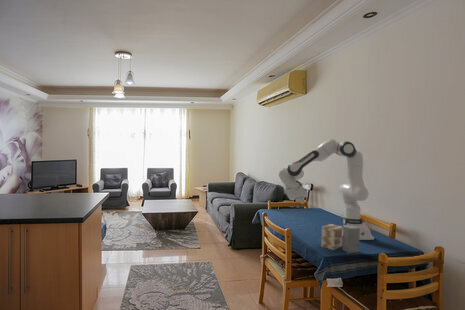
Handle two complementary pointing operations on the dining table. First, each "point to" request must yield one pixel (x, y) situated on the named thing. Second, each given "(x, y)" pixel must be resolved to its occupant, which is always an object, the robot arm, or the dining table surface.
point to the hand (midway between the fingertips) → (303, 202)
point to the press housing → (331, 236)
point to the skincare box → (351, 239)
